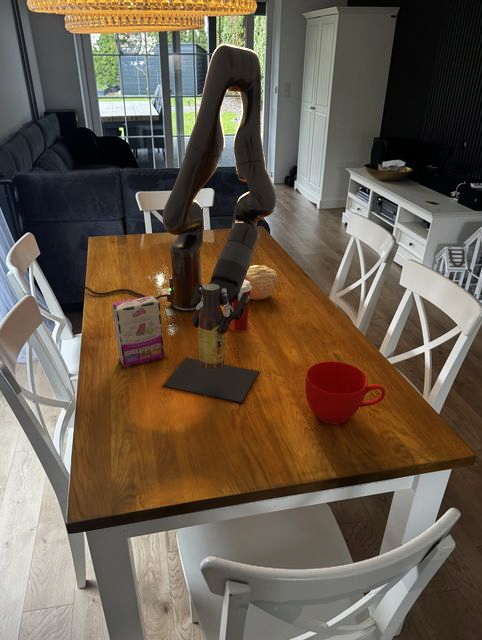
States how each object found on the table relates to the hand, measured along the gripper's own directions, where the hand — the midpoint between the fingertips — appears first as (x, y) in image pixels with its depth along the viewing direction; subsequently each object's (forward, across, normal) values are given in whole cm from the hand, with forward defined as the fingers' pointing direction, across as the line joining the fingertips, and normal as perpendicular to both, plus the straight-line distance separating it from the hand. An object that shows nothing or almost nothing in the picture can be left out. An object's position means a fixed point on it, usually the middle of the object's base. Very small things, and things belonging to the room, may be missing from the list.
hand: (207, 329), depth 112 cm
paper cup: (-10, -8, +31) cm, 34 cm away
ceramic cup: (+8, +32, +13) cm, 36 cm away
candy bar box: (+10, -21, +11) cm, 26 cm away
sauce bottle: (+6, 0, +8) cm, 10 cm away
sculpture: (-27, -13, +48) cm, 57 cm away
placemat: (+9, 0, +11) cm, 15 cm away
